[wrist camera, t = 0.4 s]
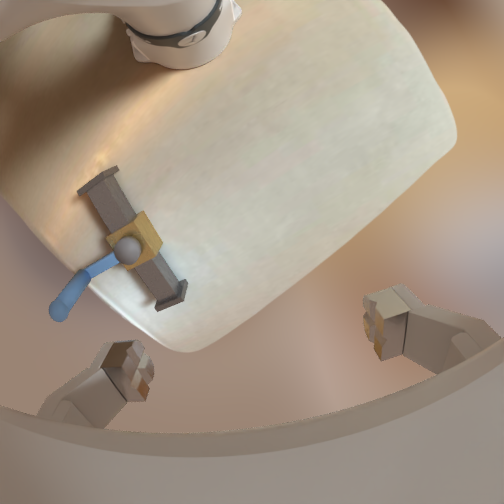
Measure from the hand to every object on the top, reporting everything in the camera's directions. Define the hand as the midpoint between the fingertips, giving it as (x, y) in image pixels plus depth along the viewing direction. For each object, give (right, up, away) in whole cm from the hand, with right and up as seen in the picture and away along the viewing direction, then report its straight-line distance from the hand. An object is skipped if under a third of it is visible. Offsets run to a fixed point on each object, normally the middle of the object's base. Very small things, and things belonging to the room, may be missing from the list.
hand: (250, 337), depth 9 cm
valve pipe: (-20, +6, +38) cm, 44 cm away
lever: (-25, +1, +34) cm, 42 cm away
